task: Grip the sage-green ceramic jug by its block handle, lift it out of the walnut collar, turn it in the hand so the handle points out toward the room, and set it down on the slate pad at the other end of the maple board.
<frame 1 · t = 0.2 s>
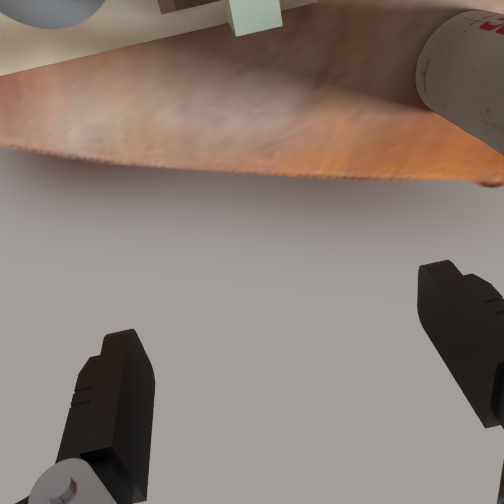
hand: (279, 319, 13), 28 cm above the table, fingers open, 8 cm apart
thermos bottle: (461, 64, 37), on the table
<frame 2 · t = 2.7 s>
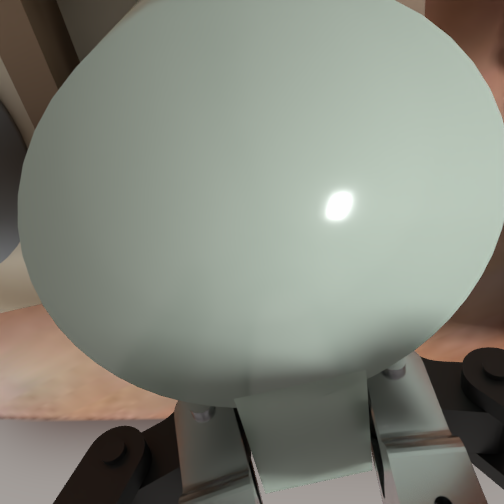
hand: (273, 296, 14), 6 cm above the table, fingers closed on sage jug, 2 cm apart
jug stand: (42, 118, 16), on the table
sage jug: (226, 84, 15), point 1 cm above the table, touching gripper, jug stand
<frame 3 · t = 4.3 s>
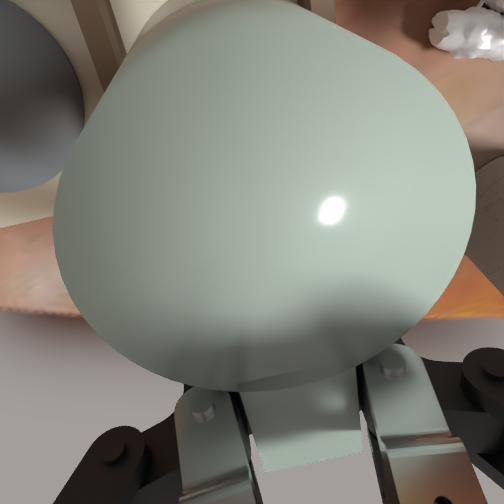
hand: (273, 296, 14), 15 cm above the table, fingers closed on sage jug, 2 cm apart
jug stand: (90, 69, 23), on the table
sage jug: (229, 96, 16), point 9 cm above the table, touching gripper
thermos bottle: (503, 204, 31), on the table
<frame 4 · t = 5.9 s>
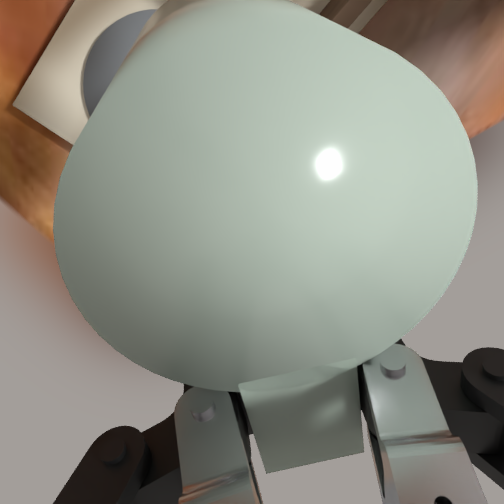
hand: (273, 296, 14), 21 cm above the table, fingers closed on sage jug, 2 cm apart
jug stand: (217, 22, 28), on the table
sage jug: (229, 96, 16), point 15 cm above the table, touching gripper
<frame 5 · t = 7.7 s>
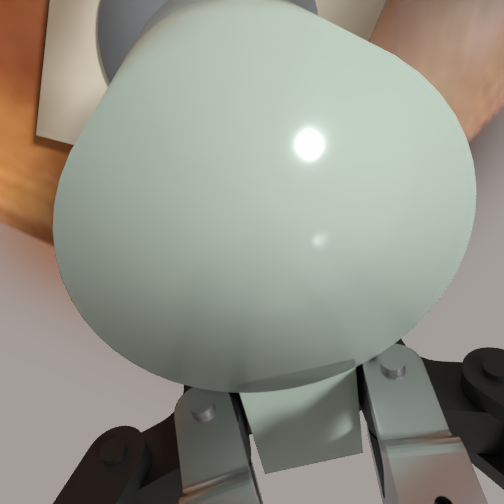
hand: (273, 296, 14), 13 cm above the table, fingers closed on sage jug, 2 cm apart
sage jug: (229, 96, 16), point 7 cm above the table, touching gripper
when the fingers open (8 cm above the table, at t = 9.0 s): sage jug stays where it is, resting on jug stand.
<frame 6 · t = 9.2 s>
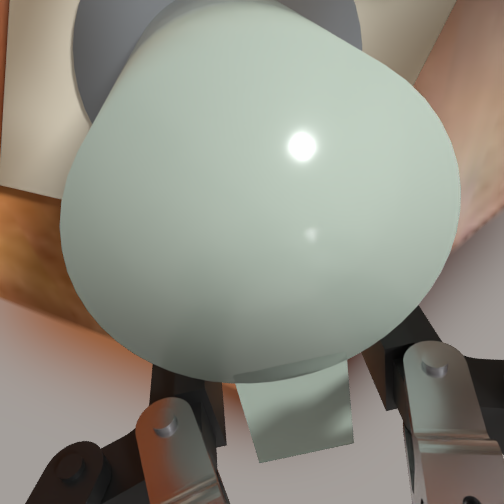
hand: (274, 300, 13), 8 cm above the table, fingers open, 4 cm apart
sage jug: (227, 98, 16), point 1 cm above the table, touching jug stand
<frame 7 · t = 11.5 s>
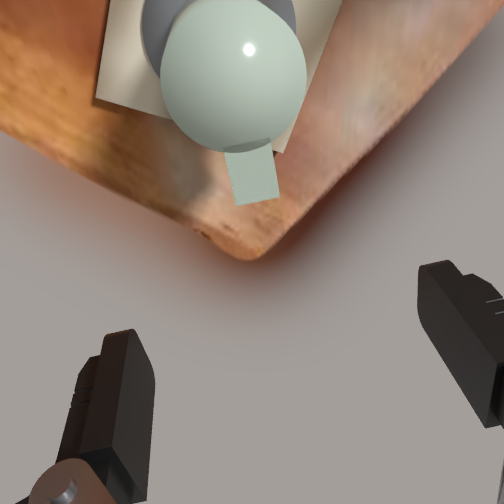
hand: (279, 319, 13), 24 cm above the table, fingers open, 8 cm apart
sage jug: (223, 46, 30), point 1 cm above the table, touching jug stand
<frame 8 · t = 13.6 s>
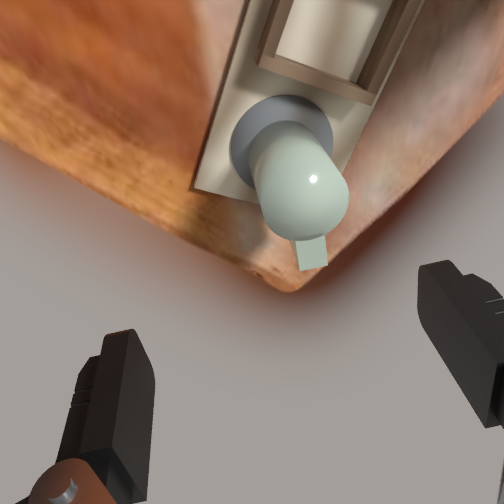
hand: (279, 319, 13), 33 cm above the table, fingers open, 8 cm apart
jug stand: (301, 89, 42), on the table
sage jug: (283, 155, 44), point 1 cm above the table, touching jug stand
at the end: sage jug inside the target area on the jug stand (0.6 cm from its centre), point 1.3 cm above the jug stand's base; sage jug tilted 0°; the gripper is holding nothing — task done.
